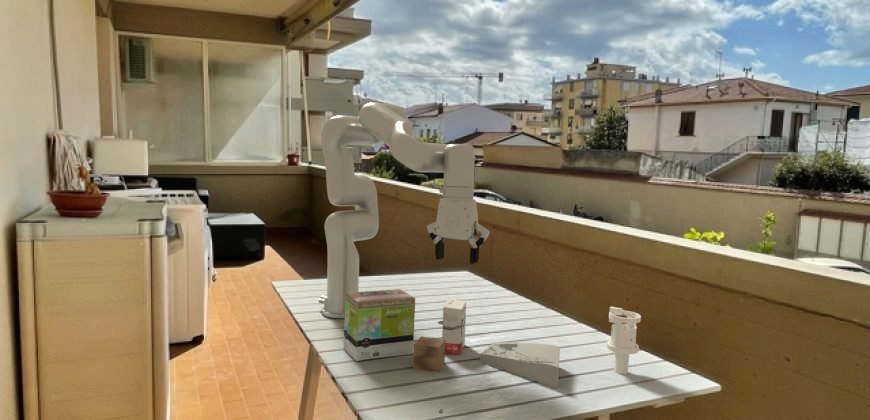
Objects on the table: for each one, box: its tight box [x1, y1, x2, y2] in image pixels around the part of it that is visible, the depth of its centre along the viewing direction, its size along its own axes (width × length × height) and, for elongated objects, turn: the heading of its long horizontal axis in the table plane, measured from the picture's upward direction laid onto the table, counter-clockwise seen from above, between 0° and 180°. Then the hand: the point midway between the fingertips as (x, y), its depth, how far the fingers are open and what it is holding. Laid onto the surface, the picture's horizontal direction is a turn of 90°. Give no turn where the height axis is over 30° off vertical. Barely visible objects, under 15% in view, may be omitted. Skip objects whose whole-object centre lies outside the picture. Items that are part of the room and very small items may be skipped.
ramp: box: [479, 341, 561, 390], centre depth 132 cm, size 28×16×5 cm, turn 27°
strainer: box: [606, 306, 642, 375], centre depth 130 cm, size 7×7×15 cm
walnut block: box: [412, 336, 446, 373], centre depth 130 cm, size 6×6×6 cm
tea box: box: [343, 288, 416, 362], centre depth 138 cm, size 15×10×15 cm
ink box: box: [441, 299, 467, 355], centre depth 143 cm, size 9×5×12 cm, turn 168°
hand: (456, 260), depth 141 cm, fingers open, 9 cm apart
